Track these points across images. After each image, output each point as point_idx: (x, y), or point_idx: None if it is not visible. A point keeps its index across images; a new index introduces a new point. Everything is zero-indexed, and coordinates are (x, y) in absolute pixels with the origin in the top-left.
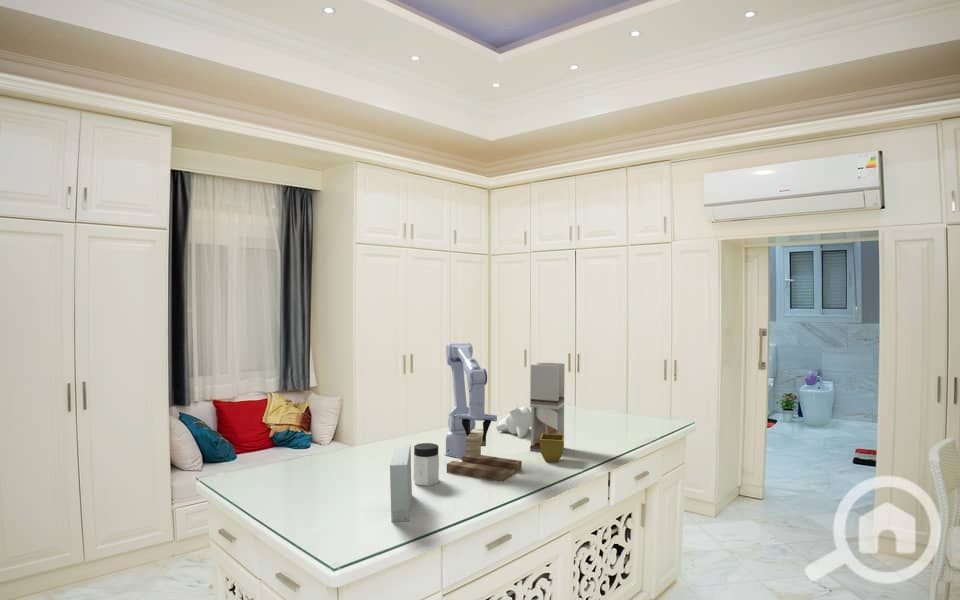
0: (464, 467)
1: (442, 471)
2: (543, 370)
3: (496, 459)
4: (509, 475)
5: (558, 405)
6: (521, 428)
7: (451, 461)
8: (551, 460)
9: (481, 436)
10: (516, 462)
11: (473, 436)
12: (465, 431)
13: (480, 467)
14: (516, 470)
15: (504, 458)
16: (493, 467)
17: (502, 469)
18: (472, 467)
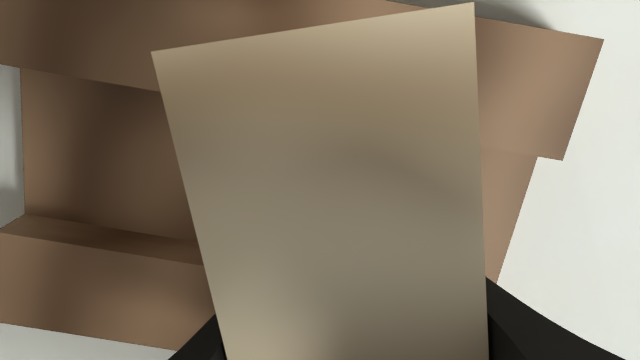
0: (404, 4)
1: (605, 54)
2: None
3: (200, 303)
4: (23, 70)
5: None
6: None
7: (571, 131)
8: None
9: (199, 229)
10: (17, 272)
11: (351, 181)
12: (582, 339)
13: (249, 33)
14: (26, 206)
15: (149, 343)
16: (135, 73)
17: (35, 39)
18: (322, 6)
